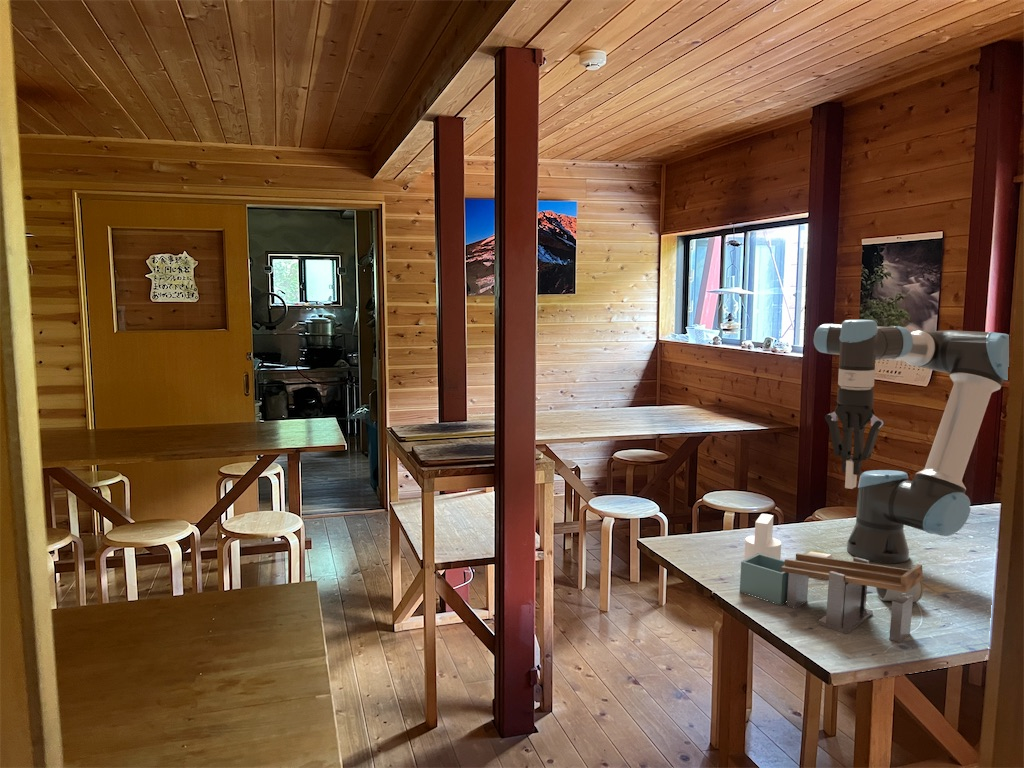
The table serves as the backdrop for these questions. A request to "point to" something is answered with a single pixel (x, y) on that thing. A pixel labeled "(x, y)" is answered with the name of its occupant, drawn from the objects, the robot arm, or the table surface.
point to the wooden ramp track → (854, 571)
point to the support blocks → (850, 604)
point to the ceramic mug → (892, 594)
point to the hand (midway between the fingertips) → (850, 487)
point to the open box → (764, 578)
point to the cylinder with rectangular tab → (763, 539)
